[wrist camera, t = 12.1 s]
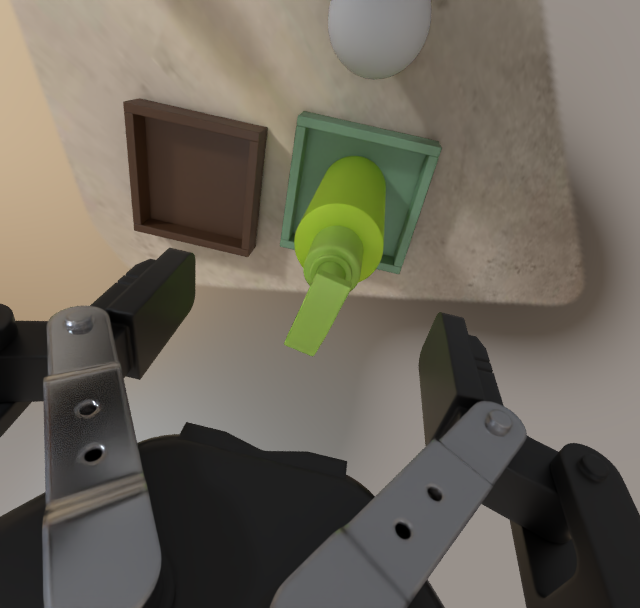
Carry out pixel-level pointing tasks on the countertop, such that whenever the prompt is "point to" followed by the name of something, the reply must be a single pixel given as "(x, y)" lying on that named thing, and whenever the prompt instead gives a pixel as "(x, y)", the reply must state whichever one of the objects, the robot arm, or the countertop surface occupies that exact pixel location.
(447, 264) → the countertop surface
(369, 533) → the robot arm
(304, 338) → the soap dispenser
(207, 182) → the walnut tray
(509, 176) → the countertop surface
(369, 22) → the lightbulb
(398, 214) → the green tray
